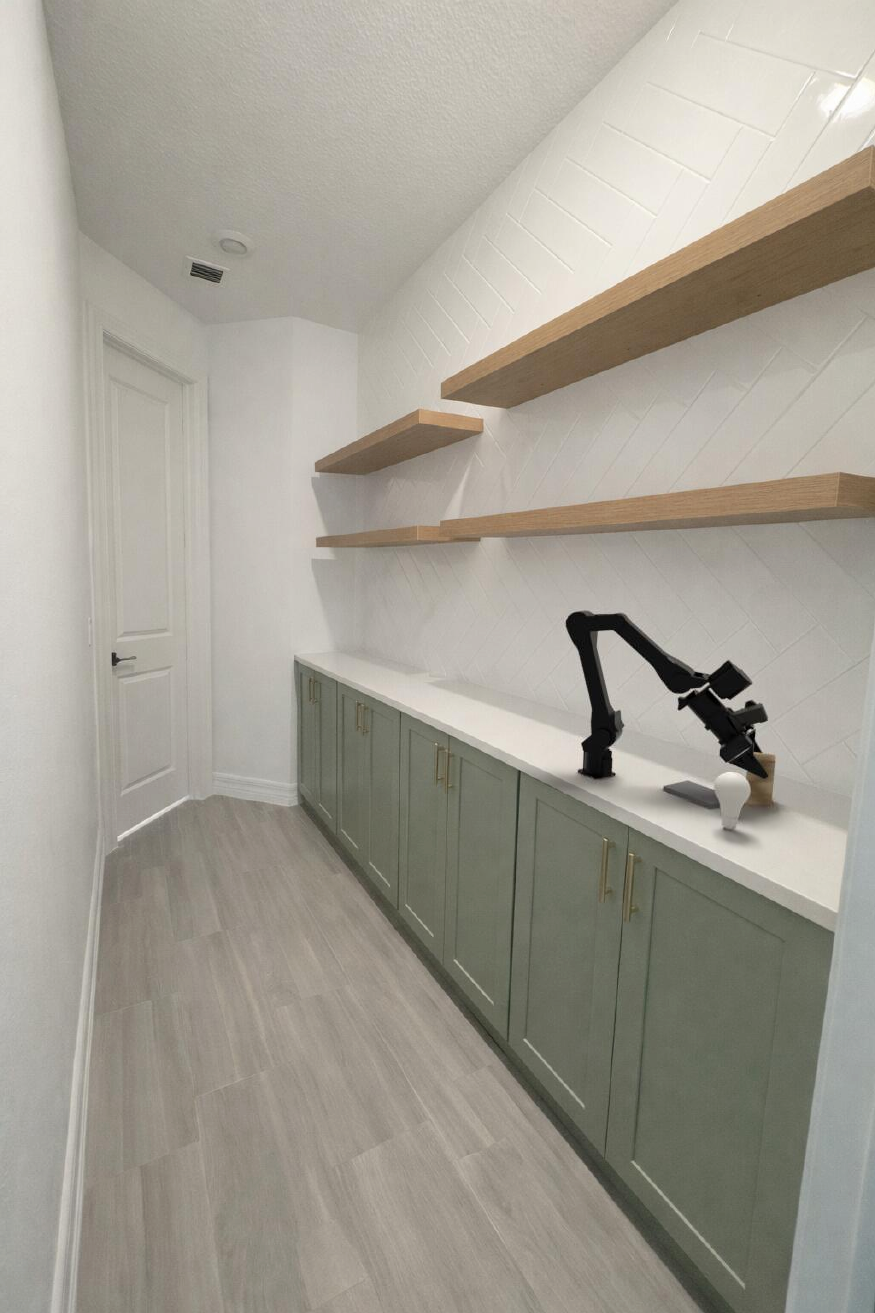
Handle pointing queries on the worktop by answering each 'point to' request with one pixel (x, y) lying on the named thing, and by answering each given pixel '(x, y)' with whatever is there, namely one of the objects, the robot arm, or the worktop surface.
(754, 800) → the oak block
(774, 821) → the worktop surface
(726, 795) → the lightbulb
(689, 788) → the charcoal mat
